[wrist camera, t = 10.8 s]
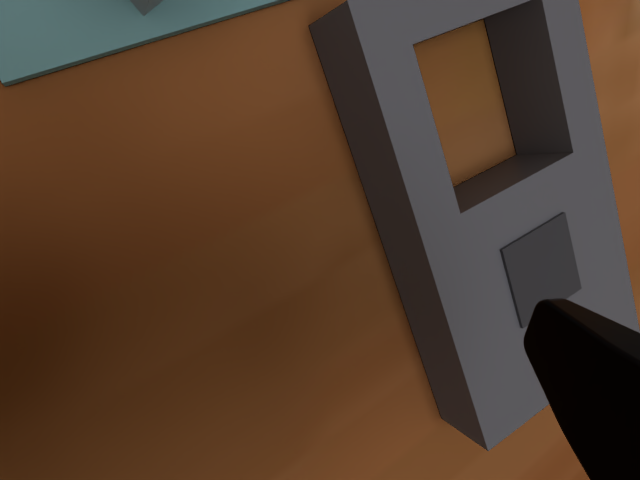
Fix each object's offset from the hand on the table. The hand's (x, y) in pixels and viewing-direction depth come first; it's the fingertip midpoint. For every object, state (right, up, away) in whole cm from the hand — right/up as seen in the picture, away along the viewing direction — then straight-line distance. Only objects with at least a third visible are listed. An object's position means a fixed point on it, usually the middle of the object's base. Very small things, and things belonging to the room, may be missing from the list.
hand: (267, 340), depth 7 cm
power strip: (+8, +3, +15) cm, 17 cm away
